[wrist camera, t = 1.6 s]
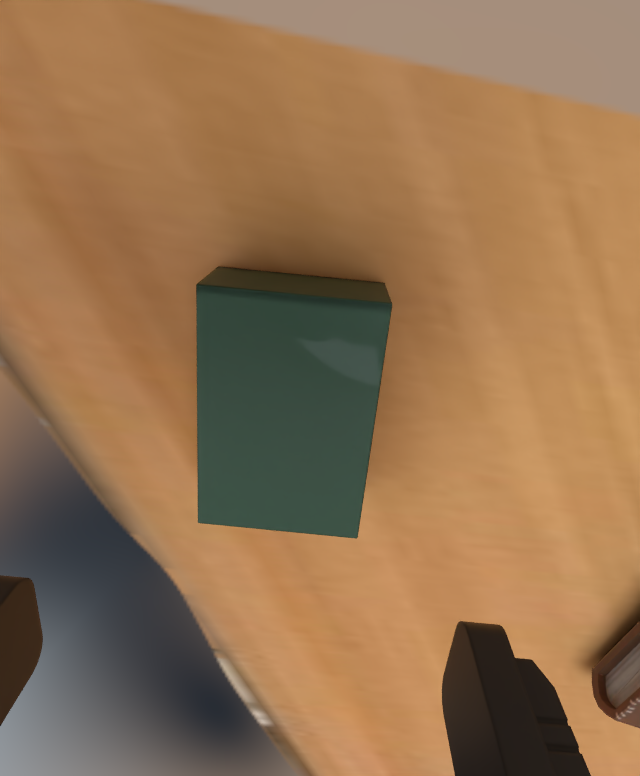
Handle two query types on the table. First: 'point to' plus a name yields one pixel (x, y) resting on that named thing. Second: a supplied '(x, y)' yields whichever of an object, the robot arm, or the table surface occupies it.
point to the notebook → (287, 398)
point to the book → (620, 680)
